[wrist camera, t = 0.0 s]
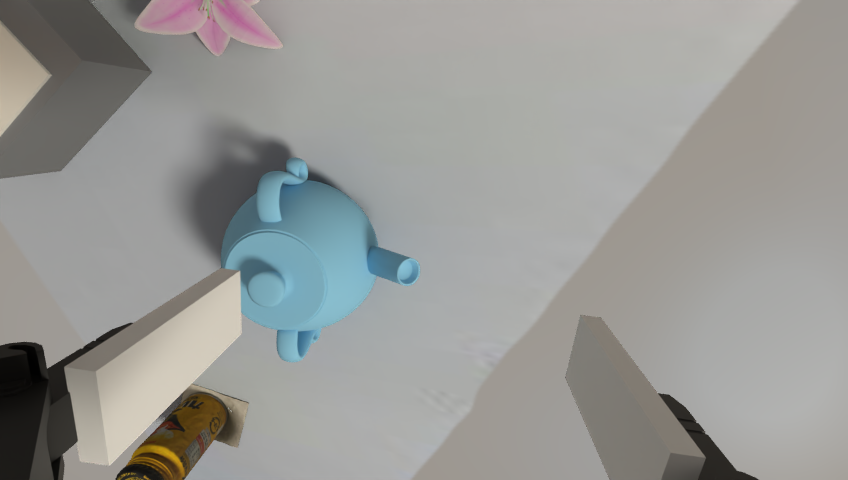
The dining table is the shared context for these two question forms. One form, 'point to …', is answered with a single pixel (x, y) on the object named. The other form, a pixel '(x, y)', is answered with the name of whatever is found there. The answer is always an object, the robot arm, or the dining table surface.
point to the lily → (208, 22)
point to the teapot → (305, 257)
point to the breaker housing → (58, 81)
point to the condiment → (187, 436)
